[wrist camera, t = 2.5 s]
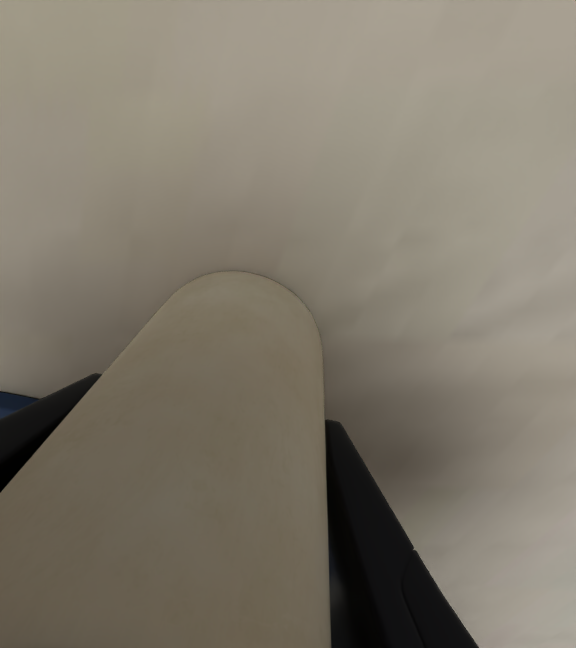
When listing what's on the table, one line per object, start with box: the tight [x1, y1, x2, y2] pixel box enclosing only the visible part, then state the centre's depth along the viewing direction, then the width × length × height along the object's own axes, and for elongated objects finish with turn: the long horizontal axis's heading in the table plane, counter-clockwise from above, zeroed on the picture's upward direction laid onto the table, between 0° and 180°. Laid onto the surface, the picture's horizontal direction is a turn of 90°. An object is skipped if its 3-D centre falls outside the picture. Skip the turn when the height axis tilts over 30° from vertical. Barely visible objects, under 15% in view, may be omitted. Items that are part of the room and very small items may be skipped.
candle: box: [0, 271, 331, 648], centre depth 7 cm, size 6×6×10 cm
